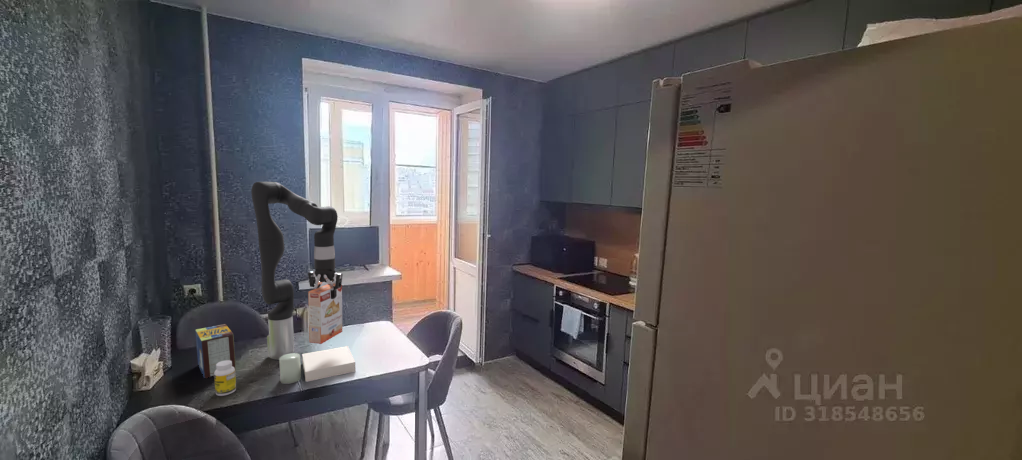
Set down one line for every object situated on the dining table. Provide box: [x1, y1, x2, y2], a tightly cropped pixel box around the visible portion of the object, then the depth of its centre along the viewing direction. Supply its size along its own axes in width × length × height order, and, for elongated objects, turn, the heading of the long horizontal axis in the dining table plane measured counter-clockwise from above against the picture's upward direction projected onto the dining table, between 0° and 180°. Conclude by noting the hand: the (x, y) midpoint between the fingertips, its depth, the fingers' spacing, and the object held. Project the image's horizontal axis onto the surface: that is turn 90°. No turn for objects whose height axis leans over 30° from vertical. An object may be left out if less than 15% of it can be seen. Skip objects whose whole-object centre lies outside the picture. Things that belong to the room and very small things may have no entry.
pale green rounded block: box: [278, 352, 302, 385], centre depth 157 cm, size 7×7×9 cm
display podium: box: [301, 345, 356, 382], centre depth 167 cm, size 18×18×4 cm
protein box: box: [194, 323, 237, 379], centre depth 164 cm, size 10×15×16 cm
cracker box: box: [307, 283, 343, 345], centre depth 165 cm, size 14×6×21 cm, turn 169°
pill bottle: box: [213, 360, 237, 397], centre depth 146 cm, size 6×6×11 cm
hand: (325, 297), depth 164 cm, fingers closed on cracker box, 6 cm apart
